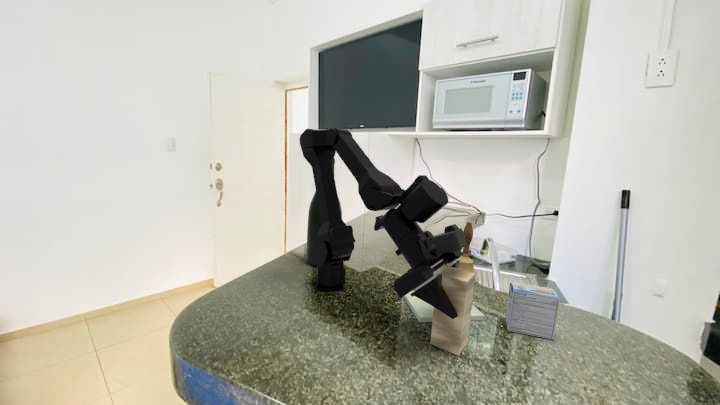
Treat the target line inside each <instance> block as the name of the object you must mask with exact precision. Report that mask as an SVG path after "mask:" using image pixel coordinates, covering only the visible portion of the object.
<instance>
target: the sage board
mask: <svg viewBox="0 0 720 405" xmlns="http://www.w3.org/2000/svg"><path fill="white" fill-rule="evenodd" d="M414 291H415V290H412V291H411V292H409V293H408V294H406V295H405V296H403V297H402V298H403V299H404V300H405V302H406V303H407V305H408V307H409V308H410V309H411V312H412V313H413V314H414V317H415V318H416V319H417V320H418V322H419V323H432V322H433V312H434V307H433V306H431V305H430V304H428V303H426V302H424V301H423V300H421V299H419V298H417V297H415V296H413V297H412V296H411V295H410V294H411V293H413V292H414ZM472 321H485V314H483V313H482V312H481V311H480V310H479V309H478V308H477V307H476V306H475V305H473V303H472V309H471V318H470V322H472Z"/></svg>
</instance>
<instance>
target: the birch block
mask: <svg viewBox="0 0 720 405" xmlns="http://www.w3.org/2000/svg"><path fill="white" fill-rule="evenodd" d="M441 273H442V287H443V289H444V291H445V292H446V294H447V296H448V298H449V299H450V301H451V303H452V305H453V306H454V308H455V310H456V312H457V314H458V316H457V317H456V318H454V319H452V318H450V317H449V316H447V315H446V314H444V313H442V312H441V311H439V310H438V309H436V308H435V307H434V312H433V322H431V323H432V324H431V333H430V341H429V343H430V345H432V346H434V347H436V348H439V349H441V350H443V351H446V352H448V353H450V354H453V355H454V356H457V357H460V355H461V353H462V351H463V350H464V348H466V345H467V344H468V342H469V341H468V340H469V333H470V325H471V321H470V318H471V309H472V304H473V299H474V292H475V284H476V283H475V276H476V275H477V273H476V272H475V273H472V272H468V271H465V270H461V269H457V268H453V267H449V266H447V267H446V268H444V269H443V270H441V271H440V272H439V273H437V276H438V275H440V274H441Z"/></svg>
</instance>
